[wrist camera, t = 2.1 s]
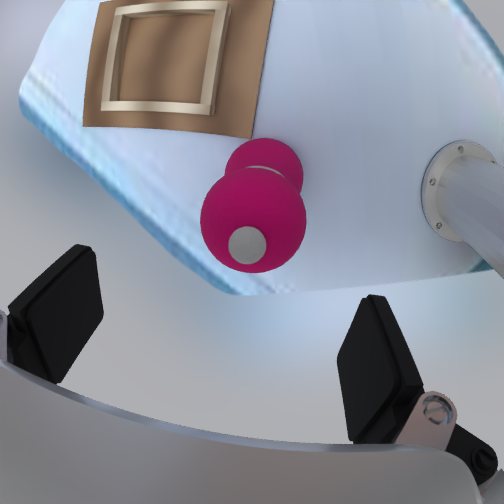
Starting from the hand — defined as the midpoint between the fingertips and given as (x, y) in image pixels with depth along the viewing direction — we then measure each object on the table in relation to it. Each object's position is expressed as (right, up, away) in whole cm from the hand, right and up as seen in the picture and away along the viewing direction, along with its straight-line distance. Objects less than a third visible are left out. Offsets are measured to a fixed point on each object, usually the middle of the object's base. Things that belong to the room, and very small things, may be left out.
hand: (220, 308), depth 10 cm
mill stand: (-8, +22, +17) cm, 29 cm away
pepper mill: (+3, +11, +22) cm, 24 cm away
